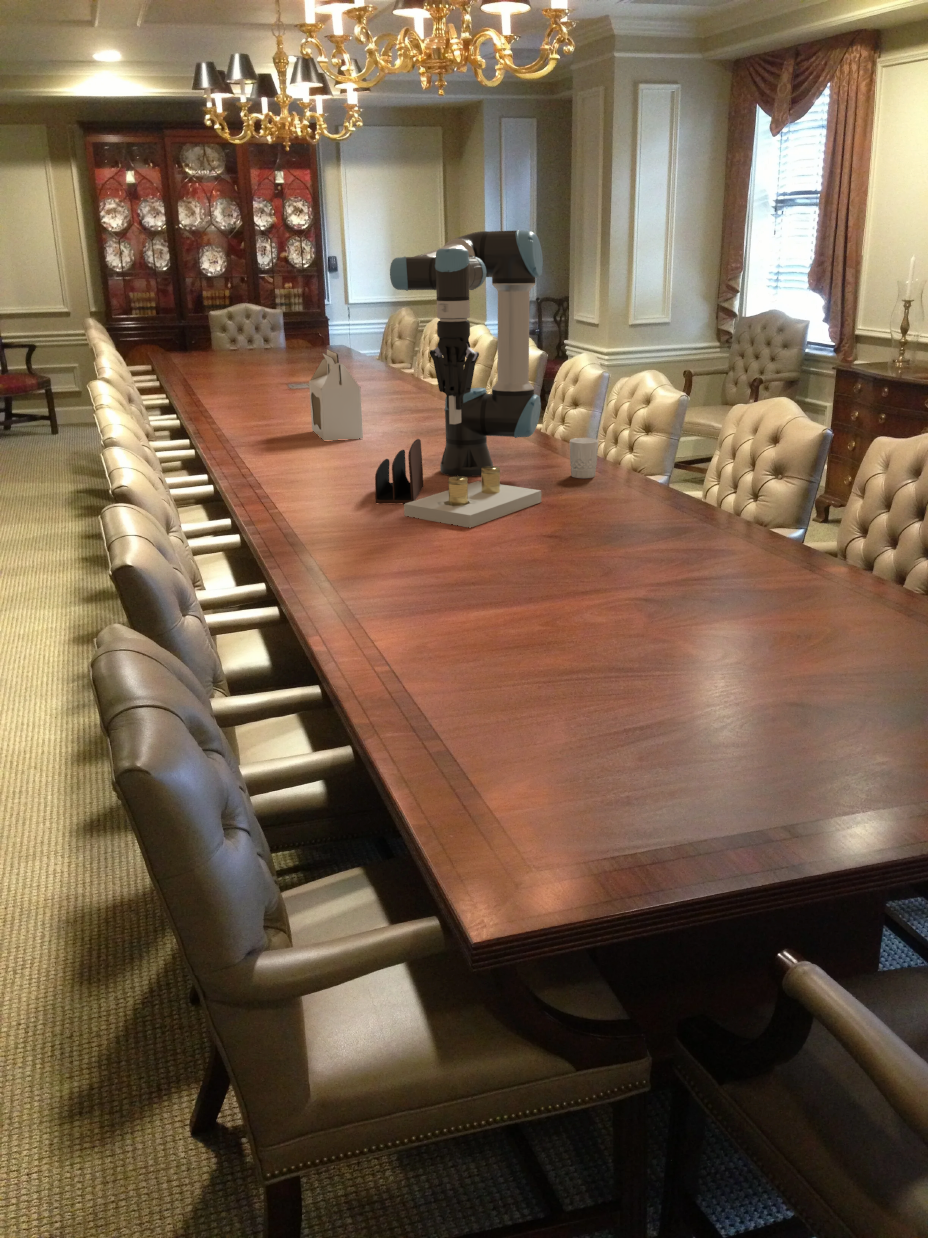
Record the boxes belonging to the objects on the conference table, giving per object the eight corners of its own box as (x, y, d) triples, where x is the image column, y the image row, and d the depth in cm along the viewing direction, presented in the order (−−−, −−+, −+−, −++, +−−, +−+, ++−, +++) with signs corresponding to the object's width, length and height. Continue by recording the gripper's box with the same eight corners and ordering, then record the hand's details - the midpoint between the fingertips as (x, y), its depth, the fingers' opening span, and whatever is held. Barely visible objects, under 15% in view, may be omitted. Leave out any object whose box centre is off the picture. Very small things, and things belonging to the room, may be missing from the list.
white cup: (596, 479, 292) (597, 443, 288) (567, 478, 293) (568, 442, 290) (598, 473, 299) (599, 437, 296) (570, 472, 301) (571, 437, 297)
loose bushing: (445, 515, 257) (444, 478, 254) (456, 511, 261) (456, 475, 258) (460, 518, 254) (459, 481, 251) (471, 514, 258) (471, 477, 255)
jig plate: (404, 515, 257) (404, 503, 256) (477, 492, 280) (477, 480, 279) (470, 527, 246) (470, 515, 245) (541, 501, 268) (541, 490, 267)
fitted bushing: (478, 503, 268) (477, 468, 265) (488, 500, 271) (488, 465, 268) (492, 506, 265) (492, 470, 262) (503, 502, 268) (503, 467, 265)
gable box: (312, 431, 371) (306, 349, 362) (348, 428, 375) (344, 347, 365) (324, 442, 351) (319, 355, 342) (363, 439, 355) (359, 353, 346)
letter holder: (423, 487, 287) (422, 435, 283) (413, 504, 269) (412, 449, 264) (387, 486, 288) (385, 435, 283) (375, 504, 270) (372, 449, 265)
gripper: (420, 319, 243) (424, 423, 251) (466, 321, 235) (467, 428, 244) (441, 317, 248) (443, 418, 257) (486, 319, 241) (487, 423, 249)
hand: (455, 423), depth 250 cm, fingers closed
